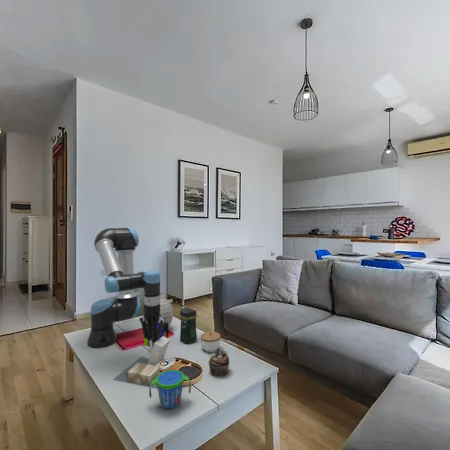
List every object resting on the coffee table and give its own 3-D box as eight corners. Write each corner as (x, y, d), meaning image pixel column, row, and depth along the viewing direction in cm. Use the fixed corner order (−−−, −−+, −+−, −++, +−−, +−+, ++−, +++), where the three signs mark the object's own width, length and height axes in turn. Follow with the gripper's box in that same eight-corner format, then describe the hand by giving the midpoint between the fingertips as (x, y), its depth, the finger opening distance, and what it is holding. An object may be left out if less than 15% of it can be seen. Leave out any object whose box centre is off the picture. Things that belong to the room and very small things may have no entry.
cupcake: (231, 368, 131) (231, 347, 130) (226, 379, 121) (226, 356, 121) (212, 365, 133) (212, 344, 133) (205, 376, 124) (205, 353, 124)
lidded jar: (208, 356, 141) (208, 338, 141) (196, 349, 150) (196, 332, 149) (224, 350, 148) (224, 333, 148) (212, 343, 156) (212, 327, 156)
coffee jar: (199, 341, 159) (199, 309, 159) (187, 345, 154) (187, 312, 153) (188, 336, 166) (188, 305, 166) (177, 340, 161) (177, 308, 160)
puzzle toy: (161, 347, 151) (160, 329, 151) (144, 346, 153) (144, 328, 153) (168, 340, 161) (168, 322, 161) (152, 338, 163) (152, 321, 163)
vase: (174, 334, 169) (174, 297, 168) (146, 337, 164) (146, 299, 164) (172, 324, 184) (172, 291, 184) (146, 327, 180) (146, 292, 180)
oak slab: (125, 371, 120) (150, 376, 116) (136, 362, 127) (160, 366, 124) (125, 380, 120) (150, 385, 116) (136, 371, 127) (160, 375, 124)
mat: (112, 380, 120) (112, 379, 120) (140, 357, 141) (140, 356, 141) (166, 391, 113) (166, 390, 113) (187, 365, 133) (187, 364, 133)
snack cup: (146, 414, 100) (146, 386, 100) (152, 395, 110) (152, 370, 110) (190, 412, 101) (190, 384, 101) (191, 393, 112) (191, 368, 111)
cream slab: (146, 365, 129) (154, 343, 128) (155, 357, 137) (163, 336, 135) (153, 370, 128) (161, 347, 127) (162, 361, 136) (170, 339, 134)
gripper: (135, 305, 130) (136, 355, 131) (160, 307, 127) (160, 359, 127) (144, 300, 138) (145, 347, 138) (168, 303, 134) (168, 351, 134)
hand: (152, 353), depth 133 cm, fingers closed
